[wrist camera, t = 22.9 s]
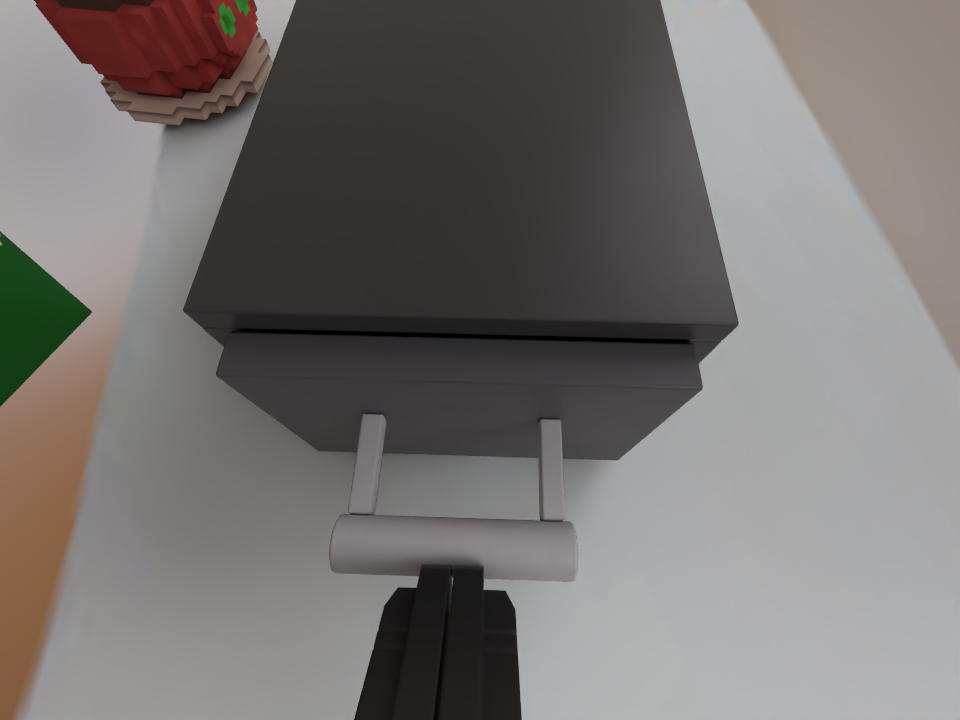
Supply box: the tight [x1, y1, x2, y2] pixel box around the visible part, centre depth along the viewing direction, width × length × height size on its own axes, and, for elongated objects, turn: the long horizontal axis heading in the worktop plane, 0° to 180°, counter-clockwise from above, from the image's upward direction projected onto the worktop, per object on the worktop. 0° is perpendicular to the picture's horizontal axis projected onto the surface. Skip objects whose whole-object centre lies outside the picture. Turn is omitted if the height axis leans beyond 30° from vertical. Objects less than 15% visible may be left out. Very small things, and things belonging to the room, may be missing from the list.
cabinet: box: [183, 0, 738, 364], centre depth 18 cm, size 16×13×9 cm
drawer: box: [216, 330, 703, 582], centre depth 16 cm, size 19×11×7 cm, turn 178°
